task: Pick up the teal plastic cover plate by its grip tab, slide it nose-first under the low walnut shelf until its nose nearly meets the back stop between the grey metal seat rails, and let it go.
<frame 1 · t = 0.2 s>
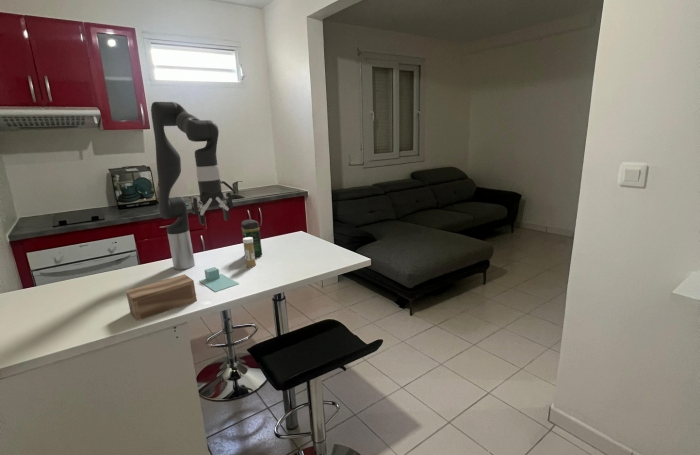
hand: (215, 222, 131), 28 cm above the countertop, tool pointing down, fingers open, 8 cm apart
coffee jar: (253, 256, 180), on the countertop
walnut shelf: (161, 303, 132), on the countertop
cover plate: (219, 283, 149), on the countertop
sprinkles bottle: (251, 265, 167), on the countertop
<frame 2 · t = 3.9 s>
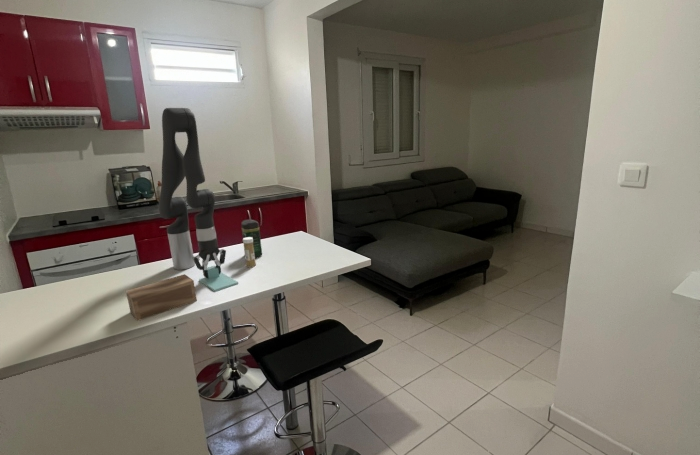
hand: (212, 275, 152), 2 cm above the countertop, tool pointing down, fingers closed on cover plate, 4 cm apart
cover plate: (218, 282, 149), on the countertop, touching gripper
everything else where it was.
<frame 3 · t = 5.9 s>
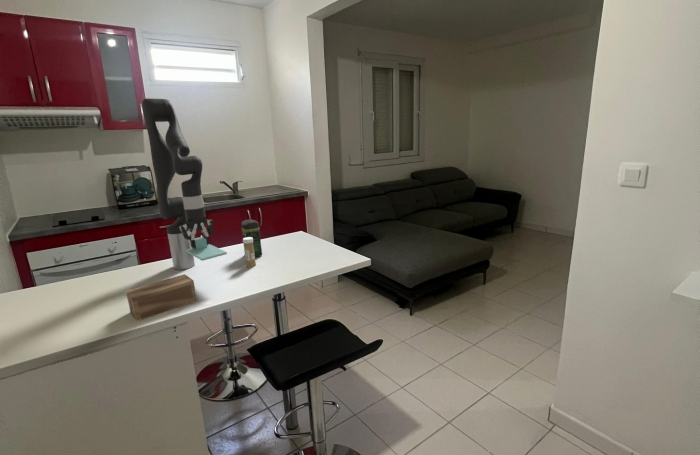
hand: (200, 246, 148), 15 cm above the countertop, tool pointing down, fingers closed on cover plate, 4 cm apart
cover plate: (206, 252, 145), point 13 cm above the countertop, touching gripper
everything else where it was.
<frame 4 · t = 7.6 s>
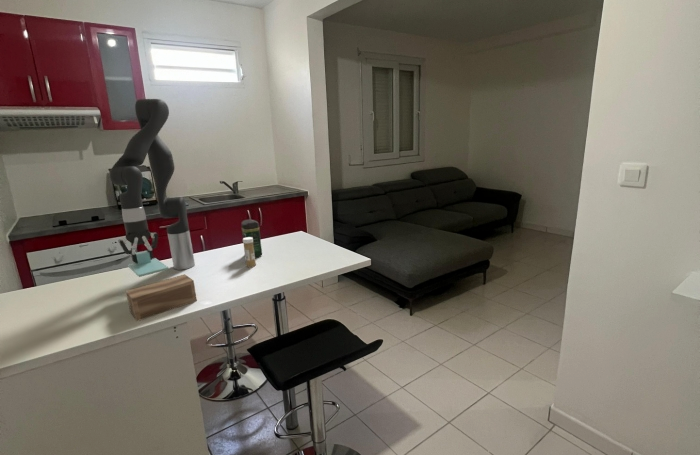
hand: (143, 261, 140), 13 cm above the countertop, tool pointing down, fingers closed on cover plate, 4 cm apart
cover plate: (148, 268, 137), point 11 cm above the countertop, touching gripper
everything else where it was.
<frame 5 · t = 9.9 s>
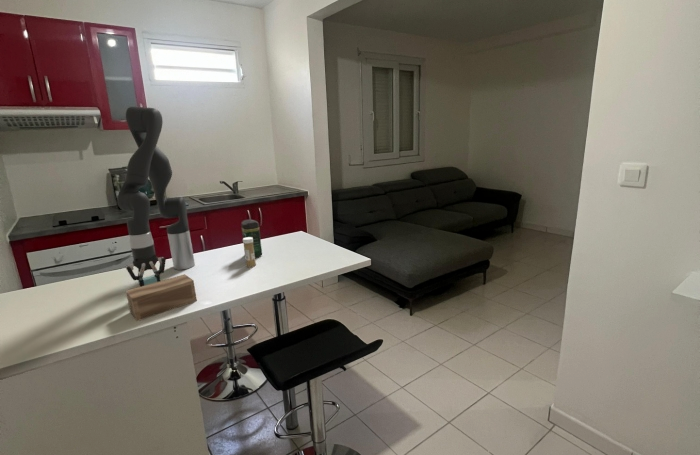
hand: (150, 286, 138), 4 cm above the countertop, tool pointing down, fingers closed on cover plate, 4 cm apart
cover plate: (155, 293, 135), point 2 cm above the countertop, touching gripper
everything else where it was.
when the fingers open (2 cm above the countertop, at t = 11.7 s): cover plate drops 2 cm, on the countertop.
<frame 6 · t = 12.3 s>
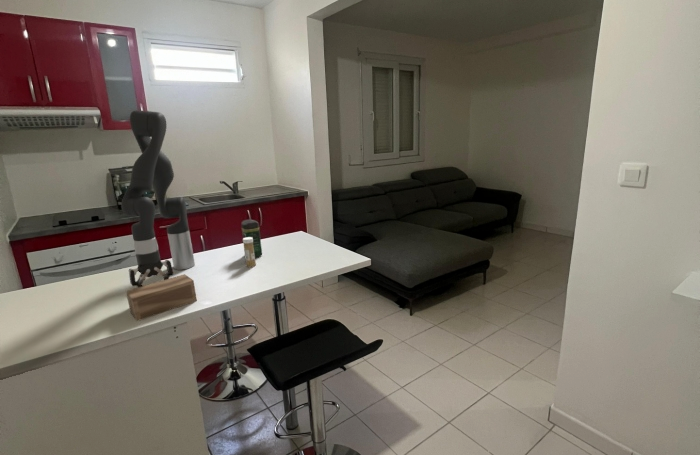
hand: (154, 290, 135), 3 cm above the countertop, tool pointing down, fingers open, 8 cm apart
cover plate: (160, 303, 133), on the countertop
everything else where it was.
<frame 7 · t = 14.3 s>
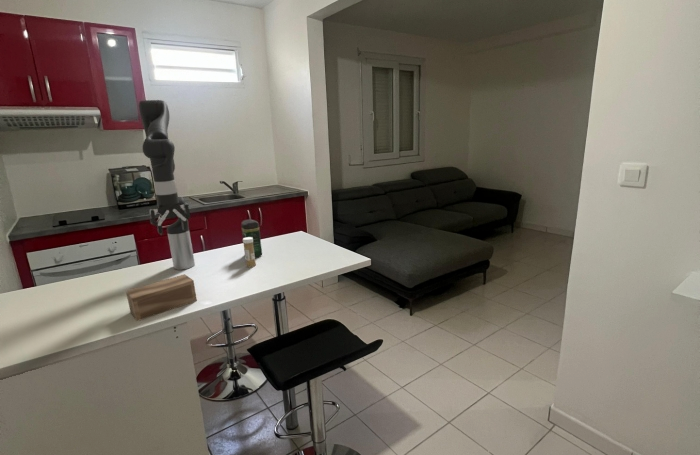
hand: (173, 232, 142), 23 cm above the countertop, tool pointing down, fingers open, 8 cm apart
nothing on the countertop moved.
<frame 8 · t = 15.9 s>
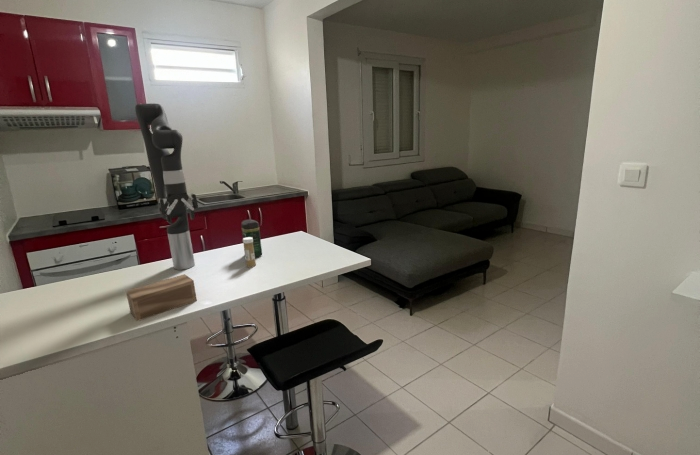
hand: (181, 221, 146), 26 cm above the countertop, tool pointing down, fingers open, 8 cm apart
nothing on the countertop moved.
at the end: cover plate 0.2 cm from the target spot on the walnut shelf, point -0.5 cm above the walnut shelf's base; the gripper is holding nothing; cover plate tilted 0° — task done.
